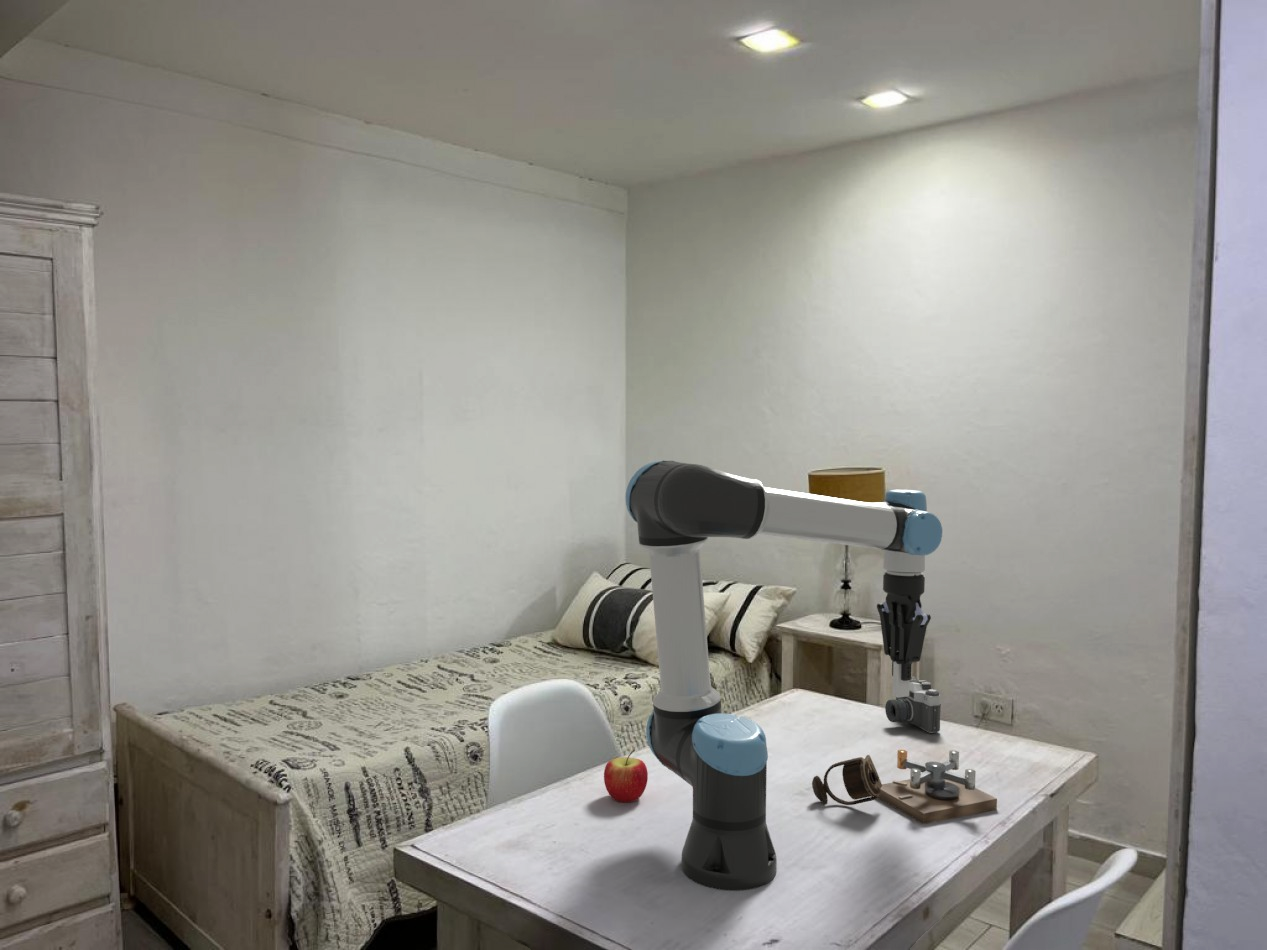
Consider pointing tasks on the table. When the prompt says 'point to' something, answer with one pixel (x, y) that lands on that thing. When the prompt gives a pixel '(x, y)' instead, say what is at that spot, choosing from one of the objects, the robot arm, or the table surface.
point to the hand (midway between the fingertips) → (900, 695)
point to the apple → (625, 778)
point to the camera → (917, 707)
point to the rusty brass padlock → (852, 781)
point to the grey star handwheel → (937, 776)
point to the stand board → (935, 802)
